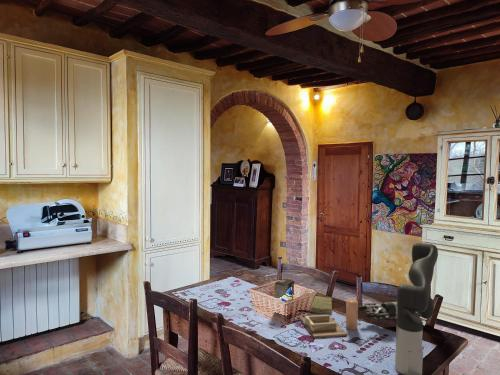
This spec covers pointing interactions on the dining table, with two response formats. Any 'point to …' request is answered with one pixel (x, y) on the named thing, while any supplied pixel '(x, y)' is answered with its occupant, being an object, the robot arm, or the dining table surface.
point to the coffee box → (283, 287)
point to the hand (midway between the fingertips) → (362, 311)
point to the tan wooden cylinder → (351, 314)
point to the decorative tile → (322, 305)
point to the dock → (322, 326)
